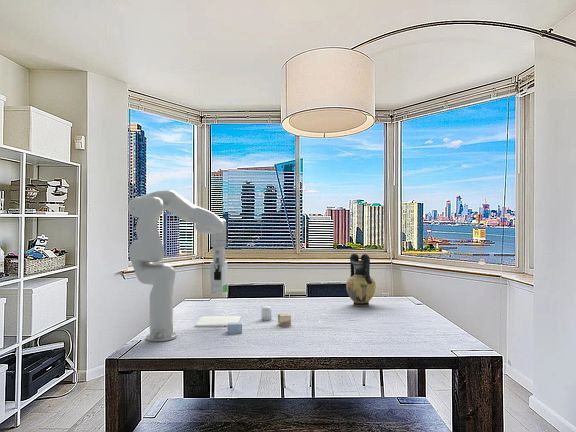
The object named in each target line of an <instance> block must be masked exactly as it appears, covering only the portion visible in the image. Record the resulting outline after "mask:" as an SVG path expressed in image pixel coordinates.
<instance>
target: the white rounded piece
mask: <svg viewBox="0 0 576 432" xmlns="http://www.w3.org/2000/svg"><path fill="white" fill-rule="evenodd" d="M260 308H261V309H260V310H261V312H260V313H261V318H260V319H261V321H271V320H272V306H269V305H267V306H261V307H260Z"/></svg>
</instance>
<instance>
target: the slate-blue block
mask: <svg viewBox="0 0 576 432" xmlns="http://www.w3.org/2000/svg"><path fill="white" fill-rule="evenodd" d="M227 333H230V334H243V323H242V321H240V322H233V323H228V326H227Z"/></svg>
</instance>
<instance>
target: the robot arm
mask: <svg viewBox="0 0 576 432" xmlns="http://www.w3.org/2000/svg"><path fill="white" fill-rule="evenodd" d="M127 210H128V213H129V214H130V216H132V217H134V218H138V219H137V223H136V225H135V232H136V233H135V234H136V236H137V239H135V240H134V241H132V242H131V244H130V246H129V250H128V255H129V260H130V262H131V265H132V268H133V271H134V273H135V276H136V278H137V280H138V282H140V283H141V284H143V285H148V286H149V285H151V286H152V287H151V290H150V293H149V334H147V335H146V336H145V340H146V341H148V342H166V341H167V342H168V341H171V340H174V339H176V338H177V337H178V334H177V333H176V332H174V285H175V279H176V270H175V268H174V267H173V266H172V265H171V264H169V263H166V262H161V261H162V260H163V259H164V257H165V249H164V246H163V245H164V244H163V242H162V239H161V236H160V233H159V230H158V221H159V219H160V217H161V215H162V213H163V211H168V212H170V213H171V214H173V215H174V216H176V218H177V217H178V218H179V219H180V220H182V221H185V222H188V223H191V224H192V223H193V224H195V226H194V227H195V231H196V232H198V233H199V234H203V235H210V247H212V249H213V250H212V262H213V266H214V264H215V266H214V267H215V268H214V280H221V272H220V266H222V267H224V262H226V248H225V247H227V221H226V219H225V218H220V216H219V215H217V214H216V213H214V212H212V211H210V210H208V209H206V208H203V207H200V206H198V205H195V204H194V203H192V202H191V201H189V200H187V199H186V198H184V197H183V196H182V195H180V194H179V193H178V192H176V191H174V190H172V189H171V190H170V189H169V190H158V191H157V190H156V191H152V192H149V193H145V194H143V195H140V196H135V197H134V198H131V200H130V201H129V202H128V205H127ZM218 263H220V265H218Z"/></svg>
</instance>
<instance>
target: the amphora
mask: <svg viewBox="0 0 576 432" xmlns="http://www.w3.org/2000/svg"><path fill="white" fill-rule="evenodd" d="M349 261H350V263H349V264H350V275H349V276H350V277H349V278H348V279H347V281H346V284H345V287H346V288H345V290H346V292H347V295H348V297H349V299H350V300H351V301H352V302H353V306H355V307H369V306H370V303H369V302H370V301H371V300H372V299H373V297H374V295H375V293H376V281H375V279H374V278H373V277H372V276H370V275H371V274H370V267H371V266H370V265H371V264H370V263H371V258H370V256H369V255H368V254H367V253H364V254H362V255H361V257H359V255H358V254H357V253H352V254H351V255H350V257H349Z"/></svg>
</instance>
